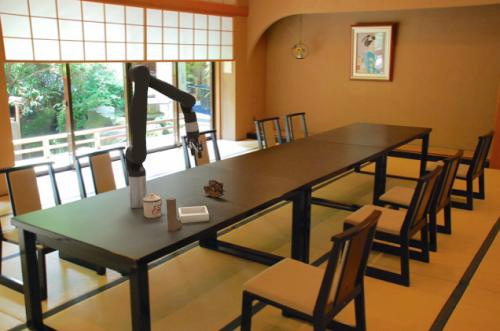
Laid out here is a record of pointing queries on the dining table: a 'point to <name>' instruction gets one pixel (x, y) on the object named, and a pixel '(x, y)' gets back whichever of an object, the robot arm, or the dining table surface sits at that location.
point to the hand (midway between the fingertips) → (196, 156)
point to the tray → (193, 214)
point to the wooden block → (172, 215)
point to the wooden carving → (214, 188)
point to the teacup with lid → (152, 206)
